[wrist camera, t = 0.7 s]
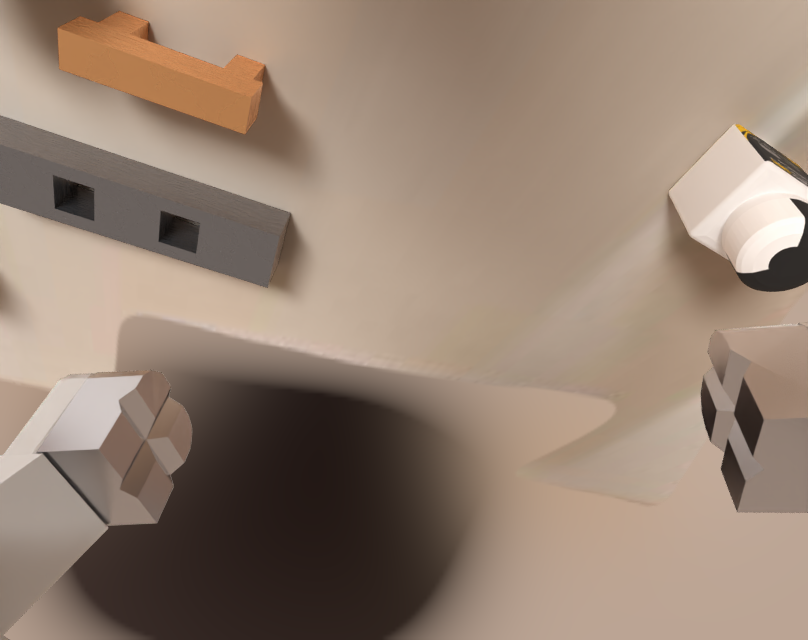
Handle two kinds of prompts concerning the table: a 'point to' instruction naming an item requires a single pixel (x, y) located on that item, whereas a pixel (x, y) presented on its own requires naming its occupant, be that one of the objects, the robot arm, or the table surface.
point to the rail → (138, 203)
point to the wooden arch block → (160, 71)
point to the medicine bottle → (748, 210)
